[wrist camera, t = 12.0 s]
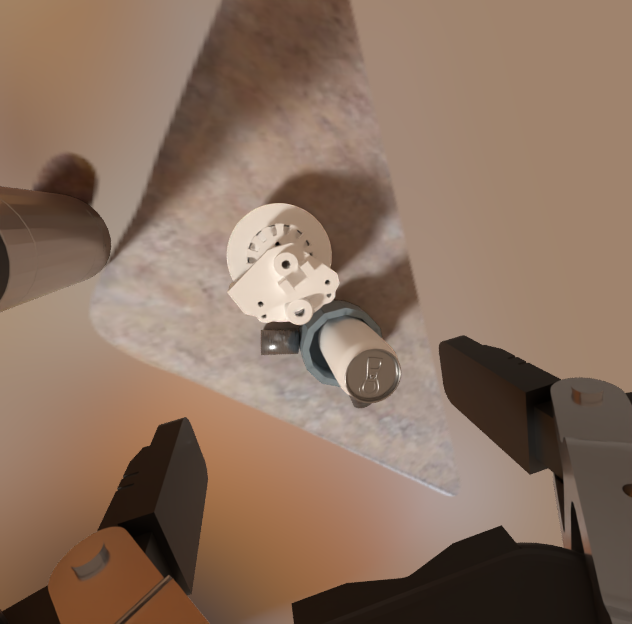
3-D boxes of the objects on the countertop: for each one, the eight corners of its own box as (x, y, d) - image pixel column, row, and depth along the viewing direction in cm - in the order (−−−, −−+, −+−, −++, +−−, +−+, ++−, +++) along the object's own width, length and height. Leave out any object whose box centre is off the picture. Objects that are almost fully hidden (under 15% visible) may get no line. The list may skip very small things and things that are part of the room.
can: (313, 358, 45) (335, 405, 34) (321, 309, 44) (347, 341, 32) (361, 362, 47) (397, 409, 35) (370, 314, 45) (412, 347, 34)
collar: (307, 379, 47) (313, 395, 43) (290, 311, 44) (294, 321, 40) (376, 359, 48) (388, 373, 44) (363, 291, 45) (375, 299, 41)
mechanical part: (307, 193, 41) (330, 184, 30) (334, 290, 45) (363, 314, 33) (212, 221, 40) (198, 222, 29) (247, 318, 44) (247, 353, 32)
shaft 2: (338, 373, 48) (344, 383, 45) (359, 364, 48) (366, 373, 45) (350, 400, 49) (356, 411, 46) (370, 390, 49) (377, 401, 46)
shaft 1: (296, 326, 45) (299, 333, 42) (295, 348, 46) (298, 357, 43) (260, 326, 44) (261, 334, 41) (260, 349, 45) (261, 358, 42)
